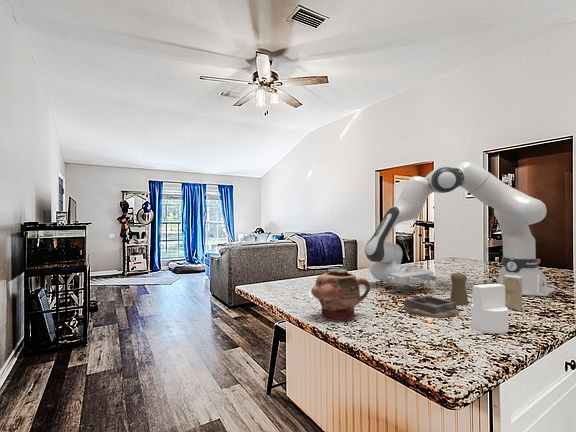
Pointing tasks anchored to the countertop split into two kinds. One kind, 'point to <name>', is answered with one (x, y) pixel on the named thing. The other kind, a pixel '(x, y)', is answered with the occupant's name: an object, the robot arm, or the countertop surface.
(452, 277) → the cork
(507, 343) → the countertop surface
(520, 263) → the robot arm
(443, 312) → the base
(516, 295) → the box
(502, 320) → the base with upright slab
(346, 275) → the sculpted clay mug
